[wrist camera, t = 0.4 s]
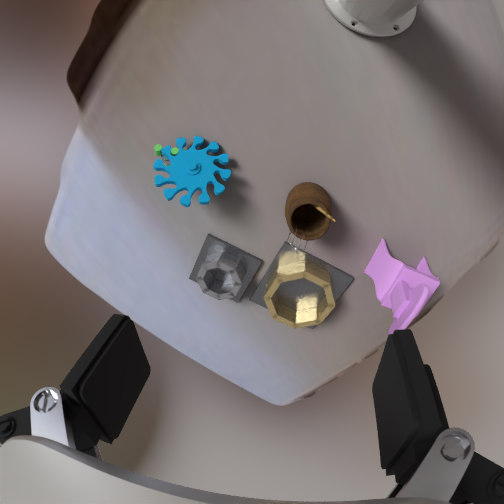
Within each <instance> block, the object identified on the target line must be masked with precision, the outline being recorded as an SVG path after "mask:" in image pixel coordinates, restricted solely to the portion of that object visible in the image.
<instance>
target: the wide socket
mask: <svg viewBox="0 0 504 504" xmlns="http://www.w3.org/2000/svg"><path fill="white" fill-rule="evenodd" d="M291 245H292V244H290V243H288V242H286V241H285V242H284V244H283V246H282V247H281V249H280V251H279V252H278V254H277V255H276V257H275V259H274V260H273V262H272V264H271V265H270V267H269V269H268V270H267V272H266V274H265V275H264V277H263V279H262V280H261V282H260V283H259V285H258V287H257V288H256V290H255V292H254V293H253V295H252V297H251V298H250V301H252V302H254V303H256V304H259V305H261V306H263V307H265V308H267V309H268V310H269V312H270V315H271V317H272V318H273V319H275V320H277V321H279V322H281V323H284V324H286V325H288V326H290V327H293V328H295V329H296V328H301V327H309V328H311V329H313V328H314V327H315V326H316V325H317V324H321V323H322V322H323V320H324V319H325V318H326V317H327V316H328V314H329V313H330V312H331V311H332V310H333V308H334V307H335V302H336V300H337V299H338V298H339V297H340V295H341V294H342V293H343V292H344V290H345V289H346V288H347V286H348V285H349V284H350V283H351V281H352V280H353V276H351V275H349V274H347V273H345V272H344V271H342V270H340V269H338V268H336V267H334V266H332V265H330V264H328V263H326V262H324V261H323V260H321V259H319V258H317V257H315V256H313V255H311V254H309V253H307V252H305V251H303V250H301V249H299V251H298V249H297V248H296V247H295V246H293V245H292V246H293V247H294V248H293V247H292V246H291ZM291 248H293V249H291ZM295 248H296V249H297V250H296V251H295V250H294V249H295ZM290 249H291V251H292V252H291V251H290ZM293 250H294V251H293ZM297 252H298V253H297Z"/></svg>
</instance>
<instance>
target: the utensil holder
mask: <svg viewBox="0 0 504 504" xmlns="http://www.w3.org/2000/svg"><path fill="white" fill-rule="evenodd" d="M285 217H286V220H287V224H288V227H289V229H290V231H291V232H292V233H293V234H294V235H295V236H296V237H298V238H300V241H302V240H301V239H303V240H306V242H308V240H315V239H318V238H320V237H321V236H323V235H324V234H325V233H326V232H327V230H328V228H329V226H330V222H331V220H333V221H334V222H336V220H335V219H333V218H332V207H331V202H330V199H329V196H328V194H327V192H326V191H325V190H324V189H323V188H322V187H321V186H319V185H318V184H315V183H311V182H305V183H301V184H298V185H297V186H295V187H294V188H293V189H292V190H291V191H290V193H289V195H288V197H287V200H286V206H285ZM290 234H291V233H289V235H290ZM294 238H295V237H294ZM288 239H289V236H288ZM288 239H287V241H288ZM293 240H294V239H293ZM289 242H290V241H289ZM292 243H293V241H292ZM300 243H301V242H300ZM300 243H299V244H300ZM290 244H291V243H290ZM306 244H307V243H306ZM291 246H292V245H291ZM299 246H300V245H299ZM292 247H293V246H292ZM297 247H298V246H297ZM297 247H296V248H297ZM303 247H304V246H303ZM305 247H306V245H305ZM293 248H294V247H293ZM293 248H291V249H293ZM296 248H295V249H294V250H295V251H296V250H297V249H298V251H299V249H300V248H297V249H296ZM301 248H302V247H301ZM291 249H290V251H291ZM294 250H293V251H294ZM304 250H305V249H304ZM304 250H303V251H304ZM291 252H292V251H291ZM297 253H298V252H297Z"/></svg>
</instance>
